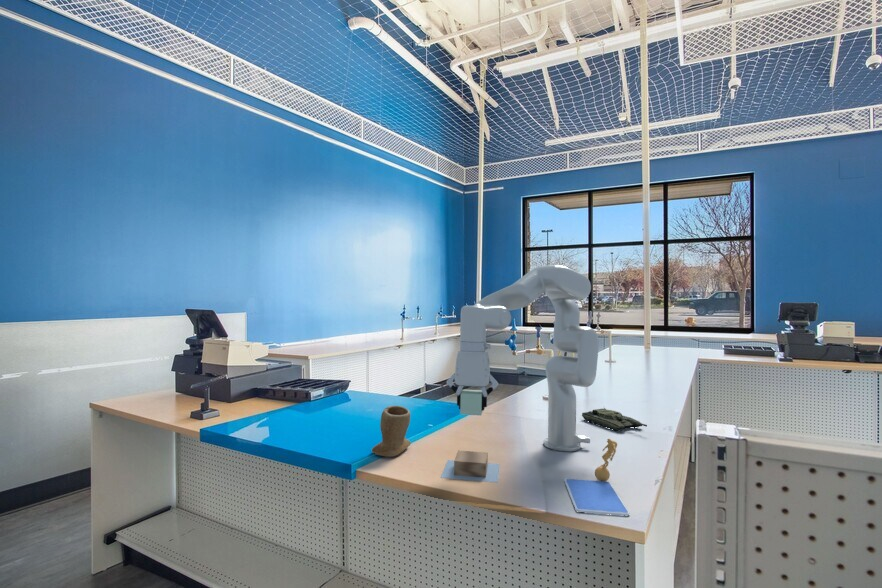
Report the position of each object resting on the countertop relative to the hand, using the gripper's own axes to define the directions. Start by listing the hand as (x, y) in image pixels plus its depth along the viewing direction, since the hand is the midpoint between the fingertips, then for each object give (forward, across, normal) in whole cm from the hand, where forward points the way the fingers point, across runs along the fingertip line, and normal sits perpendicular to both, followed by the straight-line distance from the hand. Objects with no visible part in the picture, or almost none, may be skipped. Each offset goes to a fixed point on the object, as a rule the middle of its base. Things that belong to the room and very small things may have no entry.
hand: (471, 408), depth 127 cm
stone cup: (+19, +27, -13) cm, 36 cm away
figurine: (+19, -38, -2) cm, 43 cm away
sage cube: (+1, 0, 0) cm, 1 cm away
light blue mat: (+19, 0, 0) cm, 19 cm away
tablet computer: (+20, -33, +9) cm, 40 cm away
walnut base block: (+18, 0, 0) cm, 18 cm away
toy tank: (+19, -54, -61) cm, 84 cm away
